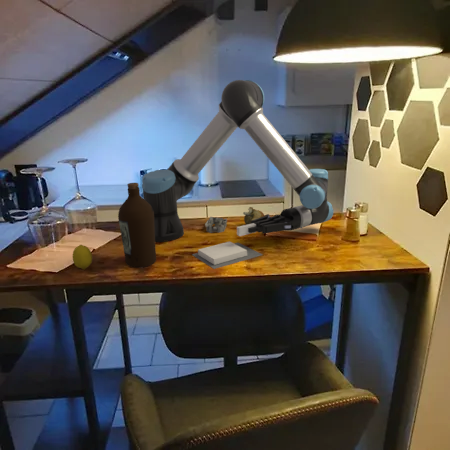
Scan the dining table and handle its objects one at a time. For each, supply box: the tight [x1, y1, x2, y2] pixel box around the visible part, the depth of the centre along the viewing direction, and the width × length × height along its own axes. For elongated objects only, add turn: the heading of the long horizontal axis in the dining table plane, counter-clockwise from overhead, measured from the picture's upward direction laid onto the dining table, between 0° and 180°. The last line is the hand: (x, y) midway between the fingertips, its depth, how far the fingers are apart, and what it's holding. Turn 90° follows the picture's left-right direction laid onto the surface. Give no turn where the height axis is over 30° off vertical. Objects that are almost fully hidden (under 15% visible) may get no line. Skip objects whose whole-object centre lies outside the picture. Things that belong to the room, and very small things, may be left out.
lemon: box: [72, 244, 93, 270], centre depth 122 cm, size 6×6×8 cm
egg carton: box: [204, 216, 228, 234], centre depth 156 cm, size 11×8×4 cm
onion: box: [242, 206, 265, 225], centre depth 156 cm, size 8×8×8 cm
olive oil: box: [117, 182, 157, 268], centre depth 124 cm, size 11×11×25 cm
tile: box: [197, 241, 247, 265], centre depth 128 cm, size 2×10×12 cm
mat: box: [191, 242, 263, 270], centre depth 129 cm, size 18×14×1 cm
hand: (238, 231), depth 129 cm, fingers closed
